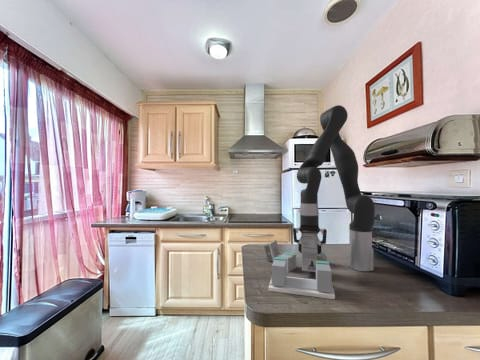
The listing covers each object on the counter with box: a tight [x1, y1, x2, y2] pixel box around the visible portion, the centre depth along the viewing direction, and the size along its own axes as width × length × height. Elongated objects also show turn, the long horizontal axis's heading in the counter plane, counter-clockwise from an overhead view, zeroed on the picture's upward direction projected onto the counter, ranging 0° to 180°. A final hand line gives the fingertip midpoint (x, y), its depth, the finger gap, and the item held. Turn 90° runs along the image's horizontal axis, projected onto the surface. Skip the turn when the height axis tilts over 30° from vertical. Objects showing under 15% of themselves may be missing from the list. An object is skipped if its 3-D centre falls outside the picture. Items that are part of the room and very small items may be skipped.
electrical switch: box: [263, 239, 281, 263], centre depth 118 cm, size 9×5×9 cm, turn 152°
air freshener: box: [318, 251, 328, 262], centre depth 113 cm, size 11×8×10 cm
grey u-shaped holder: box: [268, 257, 336, 300], centre depth 86 cm, size 22×12×9 cm, turn 75°
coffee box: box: [300, 230, 319, 273], centre depth 100 cm, size 9×6×16 cm
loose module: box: [278, 251, 297, 273], centre depth 106 cm, size 5×7×6 cm
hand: (309, 253), depth 100 cm, fingers closed on coffee box, 6 cm apart
